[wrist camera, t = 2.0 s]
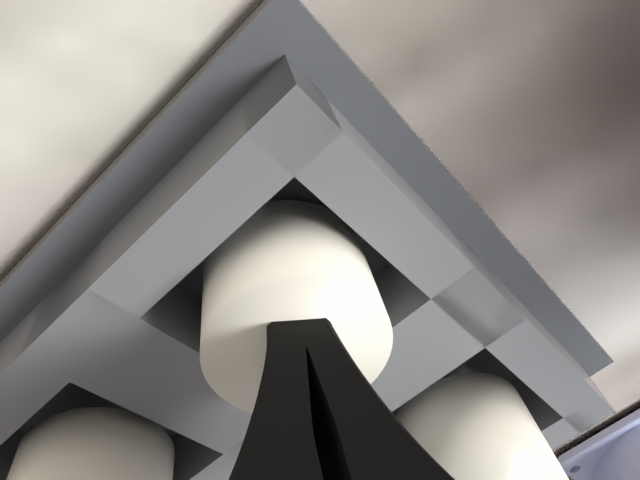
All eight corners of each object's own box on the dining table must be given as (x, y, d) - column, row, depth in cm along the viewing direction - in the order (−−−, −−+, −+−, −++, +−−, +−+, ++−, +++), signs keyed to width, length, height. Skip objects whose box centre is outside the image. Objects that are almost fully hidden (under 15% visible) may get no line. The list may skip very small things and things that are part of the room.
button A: (541, 409, 18) (596, 499, 15) (439, 473, 19) (474, 566, 17) (475, 351, 16) (525, 443, 13) (365, 428, 17) (391, 526, 14)
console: (601, 346, 21) (652, 408, 18) (277, 554, 26) (284, 624, 23) (282, -20, 12) (298, 4, 9) (-119, 408, 17) (-177, 497, 14)
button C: (393, 263, 15) (429, 343, 12) (283, 350, 16) (295, 439, 14) (286, 167, 13) (303, 239, 10) (169, 275, 14) (157, 365, 11)
